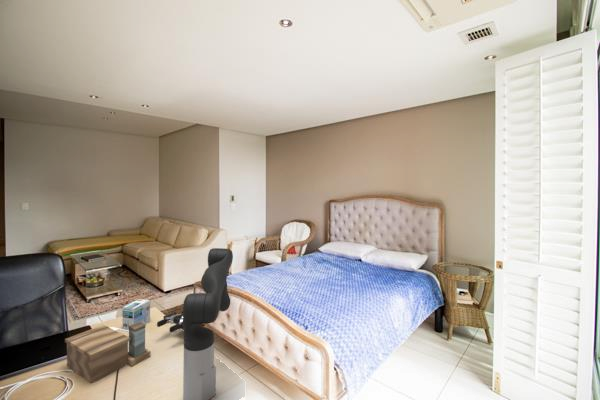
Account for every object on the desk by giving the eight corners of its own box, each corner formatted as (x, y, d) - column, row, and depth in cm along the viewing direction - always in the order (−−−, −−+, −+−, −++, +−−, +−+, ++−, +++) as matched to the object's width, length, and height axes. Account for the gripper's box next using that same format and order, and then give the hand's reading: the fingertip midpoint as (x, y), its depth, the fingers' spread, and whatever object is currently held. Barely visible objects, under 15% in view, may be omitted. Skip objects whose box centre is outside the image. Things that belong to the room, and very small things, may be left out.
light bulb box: (133, 331, 128) (134, 308, 128) (121, 329, 129) (121, 307, 129) (150, 321, 139) (150, 299, 138) (139, 319, 140) (139, 298, 140)
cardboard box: (150, 356, 109) (150, 331, 109) (93, 386, 92) (93, 356, 92) (121, 341, 120) (121, 318, 119) (64, 366, 102) (64, 338, 102)
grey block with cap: (145, 357, 109) (145, 324, 109) (134, 362, 105) (134, 329, 105) (139, 353, 111) (139, 321, 111) (128, 359, 107) (128, 326, 107)
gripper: (185, 302, 135) (153, 314, 121) (205, 309, 128) (174, 323, 114) (184, 317, 135) (153, 331, 121) (205, 324, 129) (174, 340, 114)
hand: (163, 327), depth 118 cm, fingers open, 8 cm apart
